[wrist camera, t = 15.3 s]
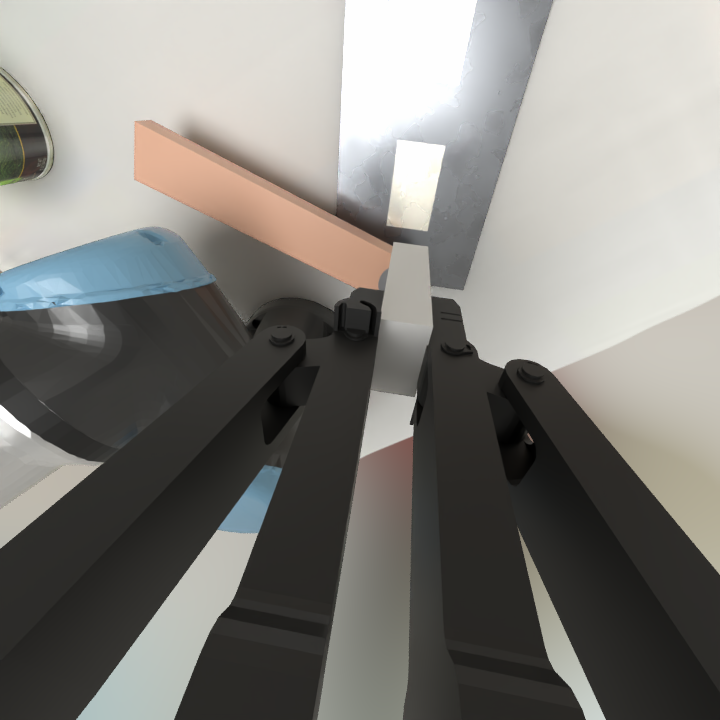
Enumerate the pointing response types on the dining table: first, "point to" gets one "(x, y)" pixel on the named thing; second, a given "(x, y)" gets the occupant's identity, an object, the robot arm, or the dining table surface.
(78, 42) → the dining table surface
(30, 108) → the coffee can
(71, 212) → the dining table surface
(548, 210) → the dining table surface
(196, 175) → the swing bar
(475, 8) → the label plate
